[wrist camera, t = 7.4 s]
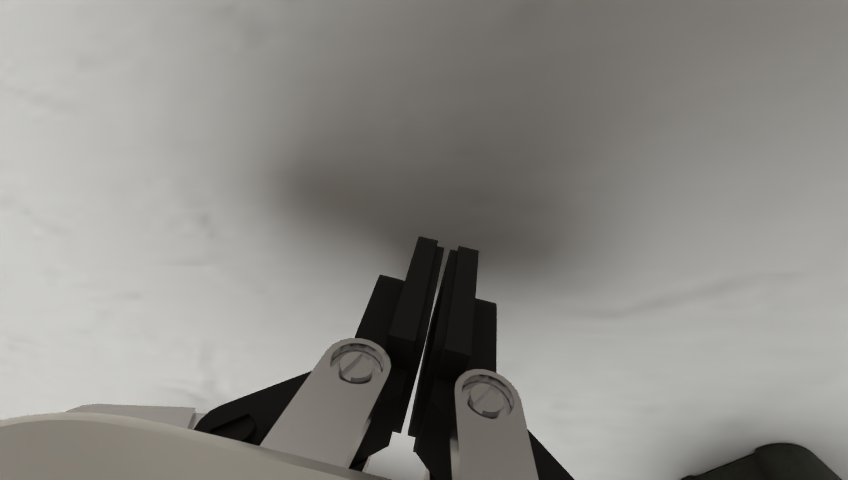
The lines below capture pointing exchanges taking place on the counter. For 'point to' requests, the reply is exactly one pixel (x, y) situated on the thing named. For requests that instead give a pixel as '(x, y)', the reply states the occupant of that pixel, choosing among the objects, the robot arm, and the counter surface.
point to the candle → (774, 466)
